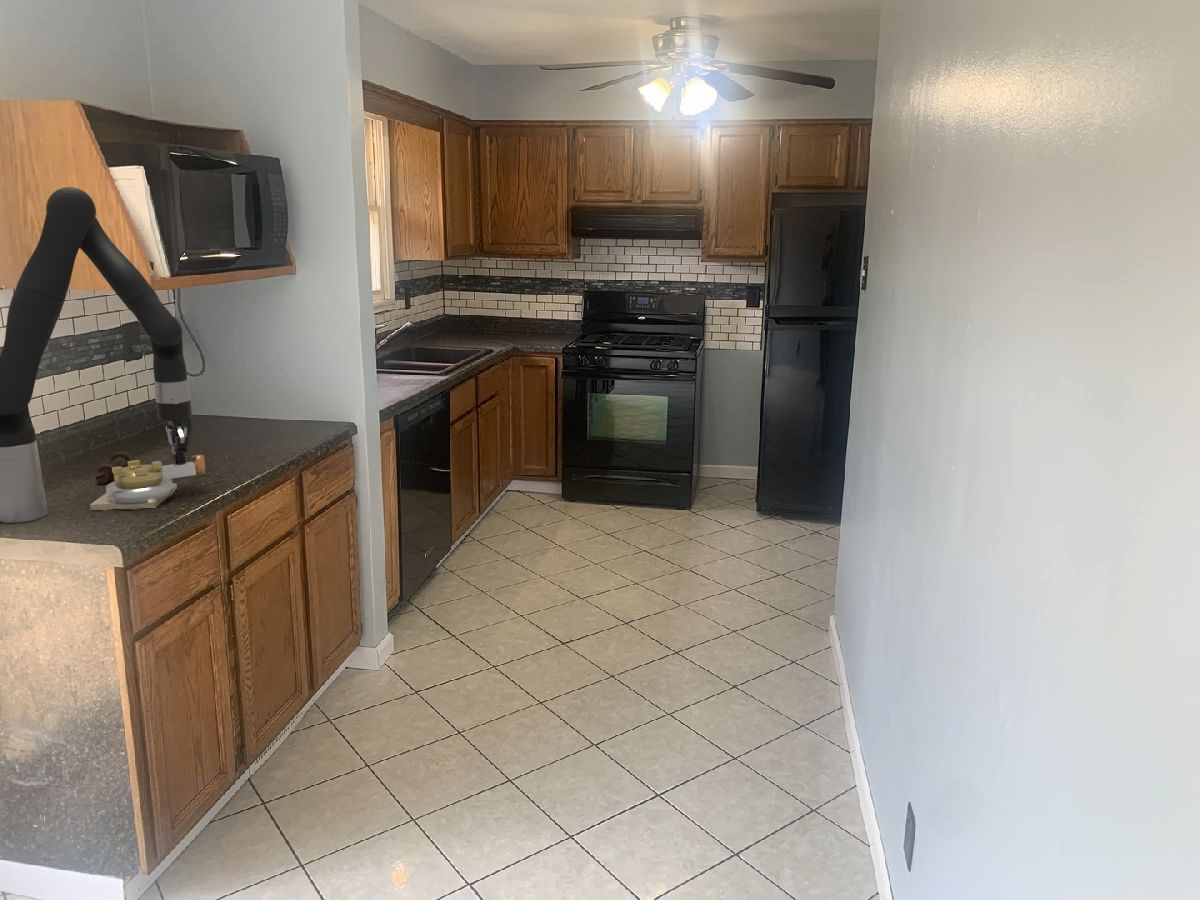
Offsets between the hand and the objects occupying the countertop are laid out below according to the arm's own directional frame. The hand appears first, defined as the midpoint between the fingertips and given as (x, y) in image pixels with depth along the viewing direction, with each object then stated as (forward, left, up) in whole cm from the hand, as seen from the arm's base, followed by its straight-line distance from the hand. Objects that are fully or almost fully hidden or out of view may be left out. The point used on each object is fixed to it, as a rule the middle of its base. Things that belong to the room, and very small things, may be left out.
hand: (180, 468), depth 219 cm
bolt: (-22, +16, -7) cm, 28 cm away
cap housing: (-8, -5, -6) cm, 12 cm away
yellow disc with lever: (-3, -5, -1) cm, 6 cm away
